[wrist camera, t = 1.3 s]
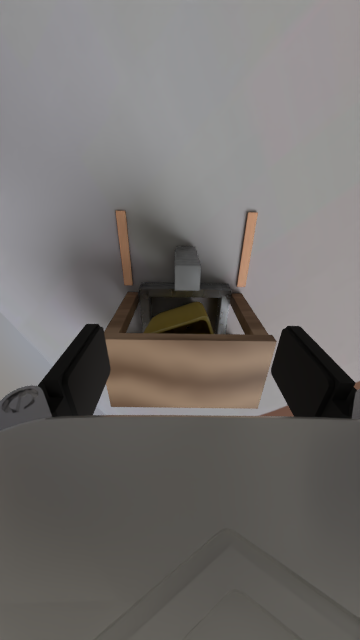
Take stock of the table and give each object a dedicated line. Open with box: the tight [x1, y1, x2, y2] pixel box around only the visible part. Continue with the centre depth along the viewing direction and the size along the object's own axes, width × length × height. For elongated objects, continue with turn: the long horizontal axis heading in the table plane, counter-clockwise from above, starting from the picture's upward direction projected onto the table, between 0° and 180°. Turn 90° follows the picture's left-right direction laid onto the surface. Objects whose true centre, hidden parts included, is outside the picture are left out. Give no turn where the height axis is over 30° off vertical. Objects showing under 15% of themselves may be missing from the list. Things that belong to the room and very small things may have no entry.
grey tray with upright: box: [139, 246, 231, 334], centre depth 29 cm, size 18×13×10 cm
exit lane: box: [116, 211, 258, 287], centre depth 30 cm, size 10×18×1 cm, turn 89°
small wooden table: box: [104, 292, 277, 409], centre depth 29 cm, size 10×18×13 cm, turn 89°
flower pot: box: [144, 302, 214, 334], centre depth 31 cm, size 9×9×9 cm
